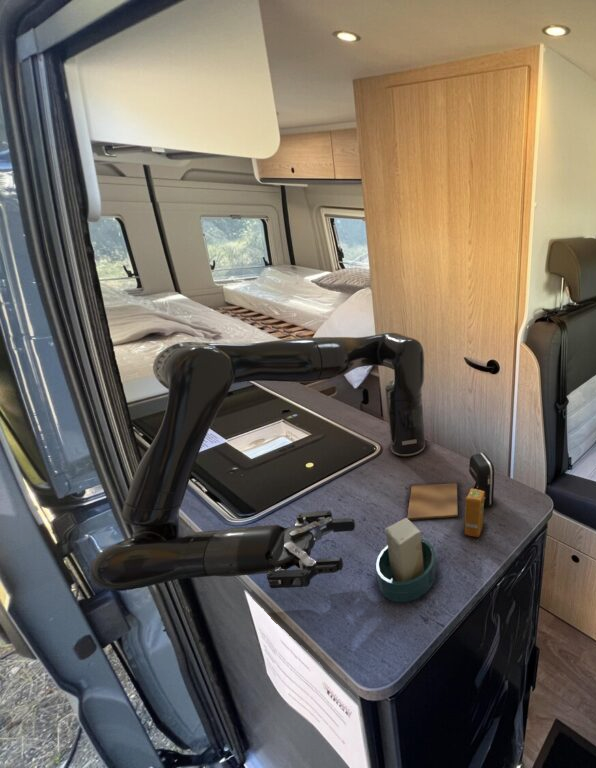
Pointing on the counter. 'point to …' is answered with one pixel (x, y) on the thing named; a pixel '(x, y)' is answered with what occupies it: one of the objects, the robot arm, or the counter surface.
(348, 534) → the counter surface
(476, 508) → the supplement box
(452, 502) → the plate
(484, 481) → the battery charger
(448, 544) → the counter surface
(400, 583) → the pot
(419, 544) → the box
